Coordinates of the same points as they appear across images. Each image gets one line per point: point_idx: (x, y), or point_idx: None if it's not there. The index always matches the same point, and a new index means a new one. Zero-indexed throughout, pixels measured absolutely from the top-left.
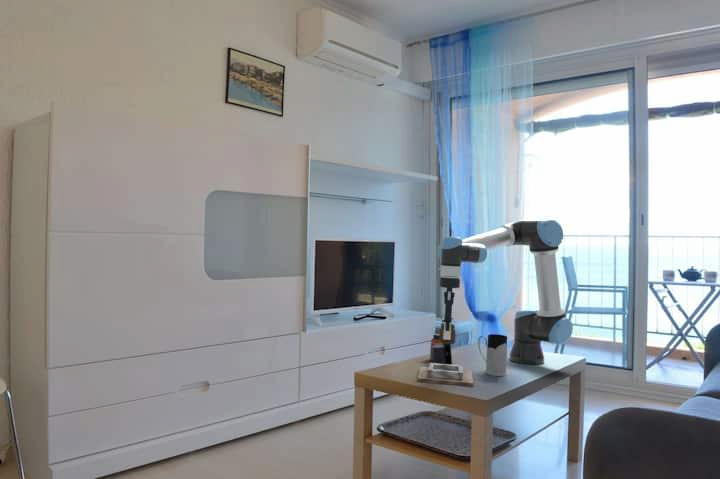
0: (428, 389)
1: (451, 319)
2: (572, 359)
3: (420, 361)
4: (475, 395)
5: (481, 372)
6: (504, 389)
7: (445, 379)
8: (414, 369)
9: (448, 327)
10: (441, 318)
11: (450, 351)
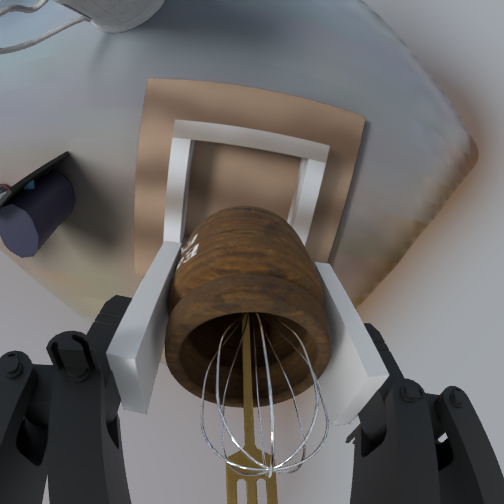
0: (392, 269)
1: (463, 398)
2: None
3: (37, 255)
4: (444, 150)
5: (121, 43)
6: (374, 27)
7: (325, 210)
8: None
9: (382, 353)
10: (270, 462)
11: (34, 174)
